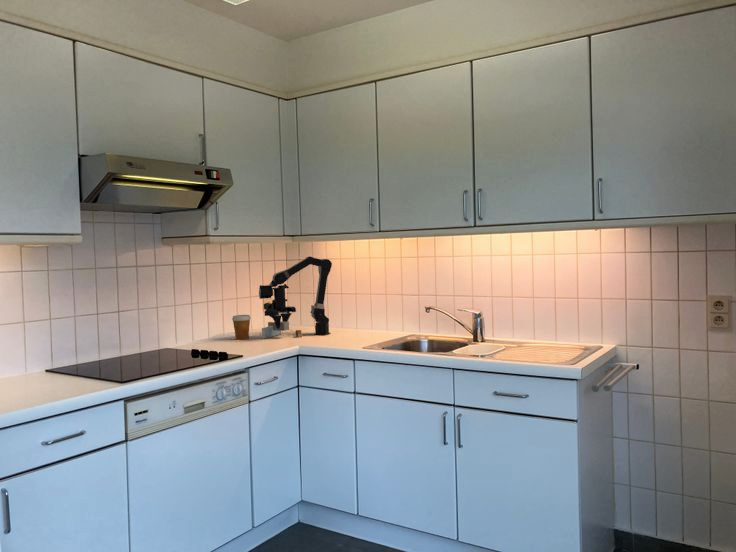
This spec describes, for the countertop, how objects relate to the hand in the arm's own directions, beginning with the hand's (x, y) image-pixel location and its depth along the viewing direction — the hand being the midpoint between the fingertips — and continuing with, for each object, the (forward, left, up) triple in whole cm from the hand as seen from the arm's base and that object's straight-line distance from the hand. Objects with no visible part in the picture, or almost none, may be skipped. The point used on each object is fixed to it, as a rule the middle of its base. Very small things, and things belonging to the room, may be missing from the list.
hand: (281, 327), depth 325 cm
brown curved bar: (+5, -8, -5) cm, 11 cm away
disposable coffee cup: (+18, +10, -5) cm, 21 cm away
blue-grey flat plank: (+8, -2, -5) cm, 9 cm away
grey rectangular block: (0, 0, -1) cm, 1 cm away
